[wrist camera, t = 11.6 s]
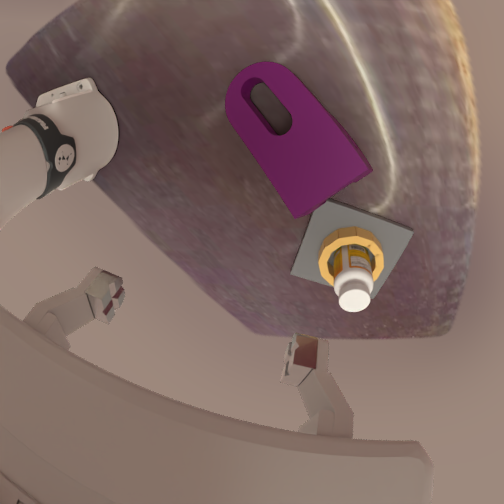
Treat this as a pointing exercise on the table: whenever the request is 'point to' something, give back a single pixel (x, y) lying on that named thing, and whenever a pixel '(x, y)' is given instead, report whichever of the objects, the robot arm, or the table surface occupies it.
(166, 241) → the table surface
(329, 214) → the plate
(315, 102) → the mounting bracket
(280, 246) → the table surface
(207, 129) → the table surface
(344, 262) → the supplement bottle
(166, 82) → the table surface
